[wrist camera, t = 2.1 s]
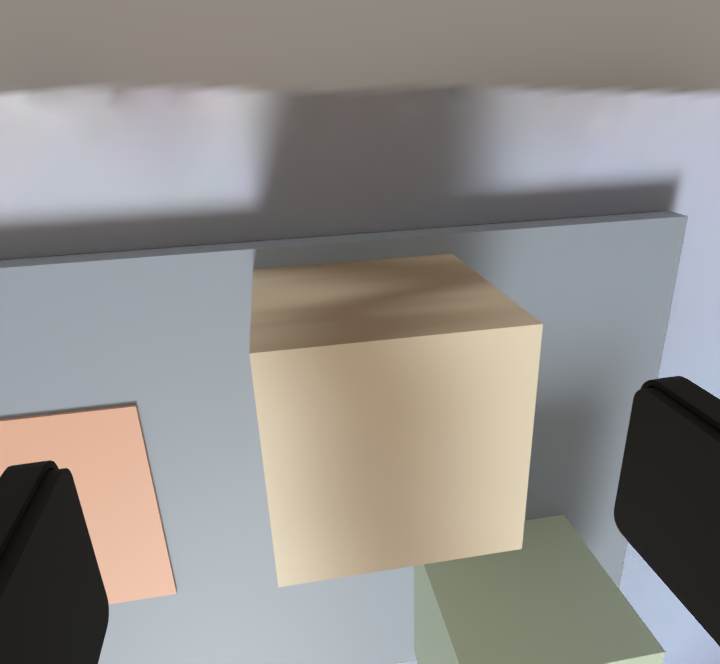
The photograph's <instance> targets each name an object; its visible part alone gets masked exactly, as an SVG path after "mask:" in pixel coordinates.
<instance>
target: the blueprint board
mask: <svg viewBox="0 0 720 664" xmlns="http://www.w3.org/2000/svg"><path fill="white" fill-rule="evenodd" d="M687 217H688V216H685V215H681V214H677V213H674V212H670V211H661V212H647V213H633V214H620V215H606V216H593V217H579V218H566V219H552V220H538V221H525V222H511V223H498V224H484V225H471V226H457V227H443V228H430V229H416V230H403V231H389V232H376V233H362V234H349V235H335V236H321V237H308V238H294V239H281V240H267V241H254V242H240V243H226V244H213V245H199V246H186V247H172V248H159V249H145V250H131V251H118V252H104V253H91V254H77V255H64V256H50V257H36V258H23V259H9V260H0V477H1V475H2V474H3V472H4V471H5V470H6V468H7V467H9V466H12V465H19V464H26V463H34V462H41V461H49V460H52V461H54V462H55V463H56V464H57V466H58V468H59V469H62V468H68V469H69V470H70V471H71V473H72V476H73V479H74V483H75V486H76V490H77V493H78V497H79V500H80V504H81V507H82V511H83V514H84V518H85V521H86V525H87V528H88V532H89V535H90V539H91V542H92V546H93V549H94V553H95V556H96V560H97V563H98V567H99V570H100V573H101V577H102V580H103V584H104V587H105V591H106V594H107V598H108V603H109V620H108V626H107V630H106V634H105V638H104V642H103V646H102V650H101V654H100V658H99V662H98V664H397V663H403V662H408V661H414V660H417V659H416V655H415V651H414V566H411V567H404V568H398V569H392V570H385V571H379V572H373V573H366V574H360V575H354V576H348V577H341V578H335V579H329V580H322V581H316V582H310V583H303V584H297V585H291V586H284V587H278V580H277V572H276V564H275V556H274V548H273V540H272V532H271V524H270V516H269V508H268V500H267V492H266V484H265V476H264V467H263V459H262V451H261V443H260V435H259V427H258V419H257V411H256V403H255V395H254V387H253V379H252V371H251V363H250V355H249V350H250V326H251V301H252V277H253V269H265V268H278V267H290V266H302V265H315V264H327V263H340V262H352V261H365V260H377V259H389V258H402V257H414V256H427V255H439V254H453V255H455V256H456V257H457V258H459V259H460V260H461V261H462V262H464V263H465V264H466V265H468V266H469V267H470V268H471V269H473V270H474V271H475V272H477V273H478V274H479V275H481V276H482V277H483V278H484V279H486V280H487V281H488V282H490V283H491V284H492V285H493V286H495V287H496V288H497V289H499V290H500V291H501V292H502V293H504V294H505V295H506V296H508V297H509V298H510V299H511V300H513V301H514V302H515V303H517V304H518V305H519V306H520V307H522V308H523V309H524V310H526V311H527V312H528V313H529V314H531V315H532V316H533V317H535V318H536V319H537V320H538V321H540V322H541V323H542V324H543V329H542V339H541V350H540V361H539V372H538V382H537V393H536V404H535V414H534V425H533V436H532V446H531V457H530V468H529V479H528V489H527V500H526V511H525V520H531V519H538V518H545V517H551V516H558V515H564V516H565V517H566V518H567V520H568V521H569V522H570V524H571V525H572V526H573V528H574V529H575V530H576V532H577V533H578V534H579V536H580V537H581V538H582V540H583V541H584V543H585V544H586V545H587V547H588V548H589V549H590V551H591V552H592V553H593V555H594V556H595V557H596V559H597V560H598V561H599V563H600V564H601V565H602V567H603V568H604V570H605V571H606V572H607V574H608V575H609V576H610V578H611V579H612V580H613V582H614V583H615V584H616V586H617V587H618V588H619V585H620V580H621V574H622V569H623V564H624V558H625V553H626V547H627V542H628V541H627V540H626V538H625V537H624V536H623V535H622V534H621V532H620V531H619V530H618V528H617V526H616V523H615V520H614V506H615V500H616V495H617V489H618V483H619V477H620V472H621V466H622V460H623V455H624V449H625V443H626V437H627V432H628V426H629V420H630V415H631V409H632V403H633V398H634V395H635V393H636V392H637V391H638V390H640V389H641V386H642V385H643V384H644V382H646V381H648V380H652V379H658V374H659V369H660V363H661V358H662V353H663V347H664V342H665V336H666V331H667V325H668V320H669V315H670V309H671V304H672V298H673V293H674V288H675V282H676V277H677V271H678V266H679V261H680V255H681V250H682V244H683V239H684V233H685V228H686V223H687Z"/></svg>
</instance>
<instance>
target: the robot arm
mask: <svg viewBox="0 0 720 664" xmlns="http://www.w3.org/2000/svg"><path fill="white" fill-rule="evenodd" d="M614 520H615V523H616V526H617V528H618V530H619V531H620V532H621V534H622V535H623V536H624V537H625V538H626V540H627V541H628V542H629V543H630V544H631V545H632V546H633V548H634V549H635V550H636V551H637V552H638V553H639V554H640V556H641V557H642V558H643V559H644V560H645V561H646V562H647V564H648V565H649V566H650V567H651V568H652V569H653V570H654V572H655V573H656V574H657V575H658V576H659V577H660V578H661V580H662V581H663V582H664V583H665V584H666V585H667V586H668V588H669V589H670V590H671V591H672V592H673V593H674V595H675V596H676V597H677V598H678V599H679V600H680V601H681V603H682V604H683V605H684V606H685V607H686V608H687V609H688V611H689V612H690V613H691V614H692V615H693V616H694V617H695V619H696V620H697V621H698V622H699V623H700V624H701V625H702V627H703V628H704V629H705V630H706V631H707V632H708V633H709V635H710V636H711V637H712V638H713V639H714V640H715V641H716V643H717V644H718V645H719V646H720V399H718V398H717V397H715V396H713V395H712V394H710V393H709V392H707V391H705V390H704V389H702V388H701V387H699V386H697V385H696V384H694V383H693V382H691V381H690V380H688V379H686V378H684V377H681V376H675V377H667V378H660V379H652V380H648V381H646V382H644V384H643V385H642V386H641V389H640V390H638V391H637V392H636V393H635V395H634V398H633V403H632V409H631V415H630V420H629V426H628V432H627V437H626V443H625V449H624V455H623V460H622V466H621V472H620V477H619V483H618V489H617V495H616V500H615V506H614ZM108 620H109V603H108V598H107V594H106V591H105V587H104V584H103V580H102V577H101V573H100V570H99V567H98V563H97V560H96V556H95V553H94V549H93V546H92V542H91V539H90V535H89V532H88V528H87V525H86V521H85V518H84V514H83V511H82V507H81V504H80V500H79V497H78V493H77V490H76V486H75V483H74V479H73V476H72V473H71V471H70V470H69V469H68V468H62V469H59V468H58V466H57V464H56V463H55V462H54V461H52V460H49V461H41V462H34V463H26V464H19V465H12V466H9V467H7V468H6V470H5V471H4V472H3V474H2V475H1V477H0V664H98V662H99V658H100V654H101V650H102V646H103V642H104V638H105V634H106V630H107V626H108Z"/></svg>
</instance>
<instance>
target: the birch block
mask: <svg viewBox="0 0 720 664" xmlns="http://www.w3.org/2000/svg"><path fill="white" fill-rule="evenodd" d="M542 329H543V324H542V323H541V322H540V321H538V320H537V319H536V318H535V317H533V316H532V315H531V314H529V313H528V312H527V311H526V310H524V309H523V308H522V307H520V306H519V305H518V304H517V303H515V302H514V301H513V300H511V299H510V298H509V297H508V296H506V295H505V294H504V293H502V292H501V291H500V290H499V289H497V288H496V287H495V286H493V285H492V284H491V283H490V282H488V281H487V280H486V279H484V278H483V277H482V276H481V275H479V274H478V273H477V272H475V271H474V270H473V269H471V268H470V267H469V266H468V265H466V264H465V263H464V262H462V261H461V260H460V259H459V258H457V257H456V256H455V255H453V254H439V255H427V256H414V257H402V258H389V259H377V260H365V261H352V262H340V263H327V264H315V265H302V266H290V267H278V268H265V269H253V277H252V301H251V326H250V350H249V355H250V363H251V371H252V379H253V387H254V395H255V403H256V411H257V419H258V427H259V435H260V443H261V451H262V459H263V467H264V476H265V484H266V492H267V500H268V508H269V516H270V524H271V532H272V540H273V548H274V556H275V564H276V572H277V580H278V587H284V586H291V585H297V584H303V583H310V582H316V581H322V580H329V579H335V578H341V577H348V576H354V575H360V574H366V573H373V572H379V571H385V570H392V569H398V568H404V567H411V566H417V565H423V564H430V563H436V562H442V561H449V560H455V559H461V558H468V557H474V556H480V555H487V554H493V553H499V552H506V551H512V550H518V549H522V543H523V532H524V521H525V511H526V500H527V489H528V479H529V468H530V457H531V446H532V436H533V425H534V414H535V404H536V393H537V382H538V372H539V361H540V350H541V339H542Z"/></svg>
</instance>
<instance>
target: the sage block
mask: <svg viewBox="0 0 720 664" xmlns="http://www.w3.org/2000/svg"><path fill="white" fill-rule="evenodd" d="M414 651H415V655H416V659H417V662H418V664H663V660H664V656H665V651H664V649H663V648H662V646H661V645H660V644H659V642H658V641H657V640H656V638H655V637H654V636H653V634H652V633H651V632H650V630H649V629H648V628H647V626H646V625H645V624H644V622H643V621H642V619H641V618H640V617H639V615H638V614H637V613H636V611H635V610H634V609H633V607H632V606H631V605H630V603H629V602H628V601H627V599H626V598H625V597H624V595H623V594H622V592H621V591H620V590H619V588H618V587H617V586H616V584H615V583H614V582H613V580H612V579H611V578H610V576H609V575H608V574H607V572H606V571H605V570H604V568H603V567H602V565H601V564H600V563H599V561H598V560H597V559H596V557H595V556H594V555H593V553H592V552H591V551H590V549H589V548H588V547H587V545H586V544H585V543H584V541H583V540H582V538H581V537H580V536H579V534H578V533H577V532H576V530H575V529H574V528H573V526H572V525H571V524H570V522H569V521H568V520H567V518H566V517H565V516H564V515H558V516H551V517H545V518H538V519H531V520H525V521H524V532H523V543H522V549H518V550H512V551H506V552H499V553H493V554H487V555H480V556H474V557H468V558H461V559H455V560H449V561H442V562H436V563H430V564H423V565H417V566H414Z"/></svg>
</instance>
